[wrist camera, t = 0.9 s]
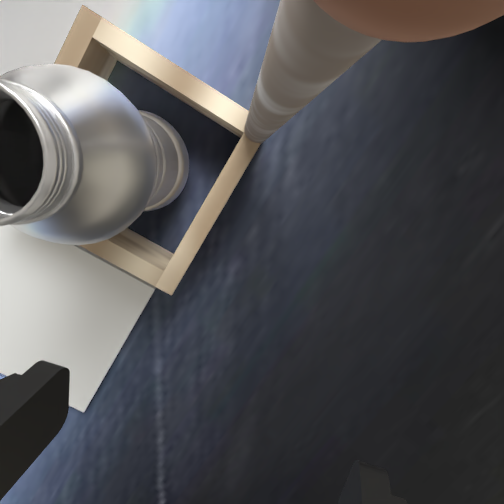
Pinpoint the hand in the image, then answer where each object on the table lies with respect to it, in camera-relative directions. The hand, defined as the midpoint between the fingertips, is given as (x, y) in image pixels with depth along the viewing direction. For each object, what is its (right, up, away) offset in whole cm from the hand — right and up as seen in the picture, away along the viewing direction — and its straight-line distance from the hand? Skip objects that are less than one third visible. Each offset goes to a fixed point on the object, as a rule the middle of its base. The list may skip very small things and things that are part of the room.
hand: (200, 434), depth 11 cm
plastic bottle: (-6, +11, +18) cm, 23 cm away
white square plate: (-14, 0, +20) cm, 25 cm away
